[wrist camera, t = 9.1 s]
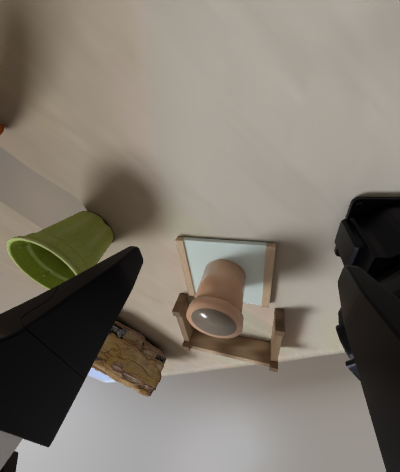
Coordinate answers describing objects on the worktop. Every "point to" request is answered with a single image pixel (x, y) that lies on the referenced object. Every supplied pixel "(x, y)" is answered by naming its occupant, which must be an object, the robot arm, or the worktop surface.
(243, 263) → the lid pane
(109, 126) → the worktop surface
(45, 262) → the plant pot
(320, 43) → the worktop surface
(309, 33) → the worktop surface
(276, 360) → the frame
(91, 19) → the worktop surface
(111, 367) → the petrified wood
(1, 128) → the carrot
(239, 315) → the terracotta pot
